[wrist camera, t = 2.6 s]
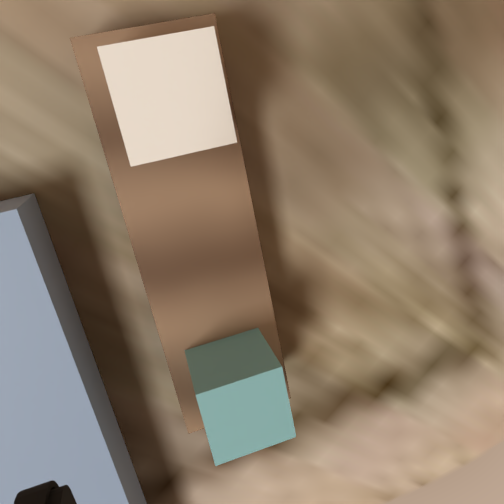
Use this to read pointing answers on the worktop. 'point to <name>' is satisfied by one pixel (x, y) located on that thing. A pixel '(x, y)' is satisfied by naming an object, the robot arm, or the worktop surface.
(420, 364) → the worktop surface
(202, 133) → the cream cube
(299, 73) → the worktop surface
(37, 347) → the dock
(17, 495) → the robot arm
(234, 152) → the brown long wavy block
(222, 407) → the teal cube
